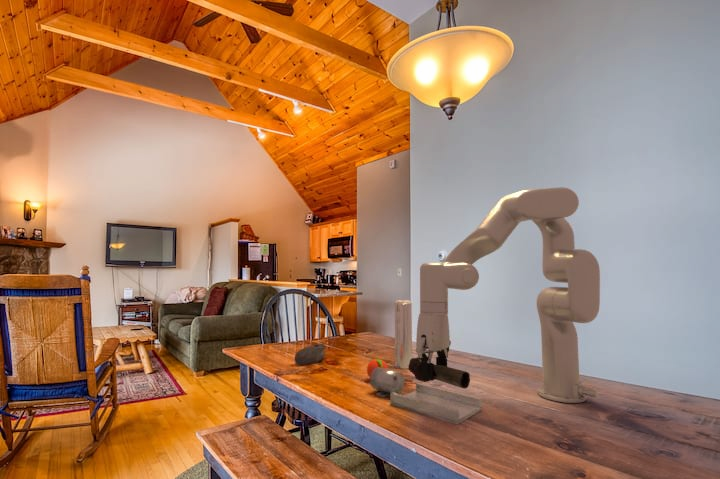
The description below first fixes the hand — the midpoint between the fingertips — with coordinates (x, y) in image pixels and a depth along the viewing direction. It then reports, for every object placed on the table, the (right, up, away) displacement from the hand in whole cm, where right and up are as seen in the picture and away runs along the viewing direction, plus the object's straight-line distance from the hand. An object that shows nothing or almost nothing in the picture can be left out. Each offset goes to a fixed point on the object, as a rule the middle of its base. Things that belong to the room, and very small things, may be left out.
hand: (434, 374), depth 102 cm
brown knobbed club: (0, -2, 0) cm, 2 cm away
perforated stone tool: (-40, -13, +47) cm, 63 cm away
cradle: (0, -9, -1) cm, 8 cm away
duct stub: (-12, -9, +11) cm, 19 cm away
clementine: (-14, -11, +23) cm, 29 cm away
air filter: (-3, -12, +42) cm, 44 cm away
